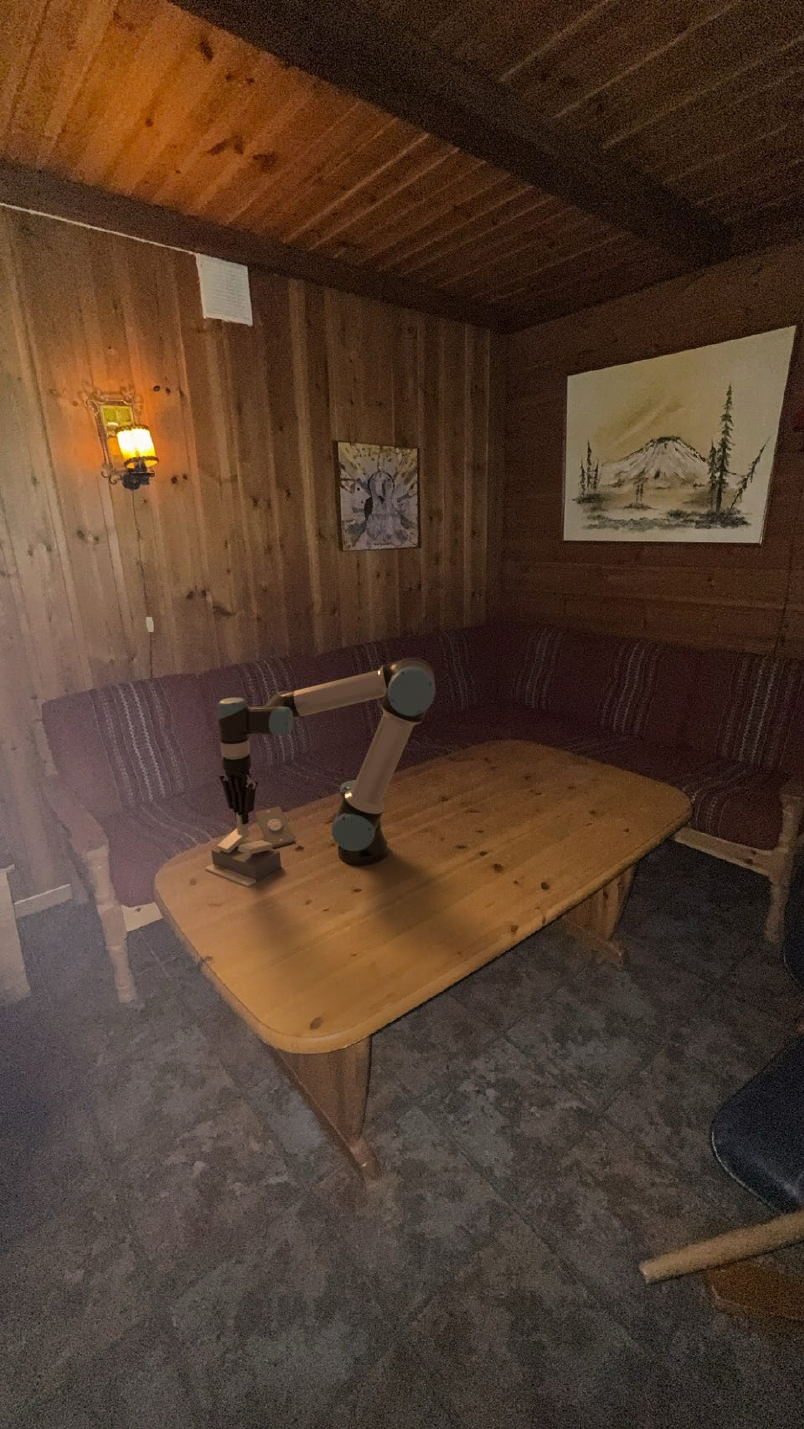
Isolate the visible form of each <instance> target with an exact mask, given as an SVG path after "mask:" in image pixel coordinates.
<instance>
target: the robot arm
mask: <svg viewBox="0 0 804 1429" xmlns="http://www.w3.org/2000/svg"><path fill="white" fill-rule="evenodd" d="M435 678H436V676H435V673H434V670H433V668H432V666H431V665H430V664H429V663H428V662H426V661H425V660H424V659H421V658H419V657H407V658H403V659H401V660H398V661H394V662H390V663H387V664H383V665H381V667H380V668H379V669H377V670H373V671H368V672H366V673H362V674H357V675H353V676H349V677H346V678H342V679H337V680H333V681H329V682H326V683H321V684H317V685H313V686H309V687H304V688H301V689H298V690H297V689H296V690H293V691H279V692H277V693H275V694H274V695H272V696H271V697H270V699H269V701H267V703H266V704H265V705H264V706H248V704H247V702H246V699H244V698H243V697H227V698H223V699H221V700H220V701H218V703H217V722H218V732H219V742H220V755H221V756H222V757H221V762H222V769H223V771H224V773H223V774H221V775H219V776H218V777H219V780H220V782H221V784H222V787H223V791H224V795H225V799H226V803H227V807H228V809H229V810H232V811H233V813H234V818H235V822H236V829H237V831H238V835H240V836H242V835H244V834H246V833H248V832H250V830H249V822H250V821H249V820H250V819H249V813H251V812H253V811H254V809H255V802H256V801H255V800H256V791H257V787H258V785H259V783H258V781H254V780H253V779H252V775H251V773H250V769H251V767H252V759H251V758H252V756H251V754H250V751H251V748H250V738H249V737H250V735H254V736H255V735H256V736H257V735H259V736H260V735H261V736H263V735H264V736H283V735H290V734H291V733H292V731H293V727H294V719H295V718H300V717H303V716H308V715H312V714H316V713H320V712H321V713H322V712H324V711H325V712H326V711H329V710H334V709H338V708H342V707H346V706H350V705H354V704H358V703H362V702H366V701H367V702H368V701H370V700H371V701H372V700H376V699H380V698H382V701H381V703H380V708H381V710H382V712H383V713H382V716H381V718H380V720H379V723H378V726H377V728H376V731H375V733H374V736H373V738H372V741H371V743H370V746H369V748H368V751H367V753H366V755H365V758H364V759H363V763H362V765H361V767H360V770H359V773H358V775H357V777H356V779H354V780H353V779H352V780H347V781H346V782H343V783H342V784H341V785H340V787H339V788H340V790H339V794H340V802H339V806H338V809H337V812H336V814H335V817H334V820H333V821H332V825H331V835H332V838H333V840H334V842H335V843H336V844H337V845H338V846H337V855H338V858H339V860H341V861H342V862H344V863H346V864H350V865H355V866H363V865H364V866H366V865H372V864H375V863H377V862H381V861H382V860H384V859H385V858H386V856H387V854H388V852H389V851H388V850H389V849H388V843H387V842H388V841H387V840H386V839H385V835H384V833H383V830H382V822H381V821H382V820H381V818H382V816H383V814H384V811H385V806H384V803H383V799H384V797H385V794H386V791H387V789H388V787H389V784H390V783H391V780H392V778H393V775H394V773H395V770H396V768H397V766H398V764H399V761H400V758H401V757H402V754H403V751H404V749H405V747H406V745H407V742H408V740H409V737H410V735H411V733H412V731H413V729H414V726H415V725H419V724H421V723H422V722H423V720H424V717H425V715H426V713H427V710H428V709H429V708H430V707H431V705H432V703H433V702H434V698H435V695H436V683H435V680H436V679H435Z"/></svg>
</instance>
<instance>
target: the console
mask: <svg viewBox="0 0 804 1429" xmlns="http://www.w3.org/2000/svg"><path fill="white" fill-rule="evenodd" d="M251 842H252V841H251V840H248V839H247V838H246V839H244V840H243V841H242V842H241V843H240V844H239V845H242V844H247V843H251ZM239 845H238V846H237V847H236V848H234V849H233V850H232V851H231V852H230V853H227V852H224V851H221V850H219V849H218V847H217V846H216V847H214V848H213V849H211V850H210V851H211V860H212V863H211V864H209V865H208V866H206V867H204V870H205V871H206V872H209V873H211V874H215V875H217V876H220V877H222V878H224V879H227V880H230V881H232V882H234V883H238V884H239V885H242V886H245V887H247V888H250V887H251V886H252V885H254V884H256V883H257V882H259V881H260V880H262V879H263V878H265V877H267V876H268V875H270V874H272V873H273V872H274V871H276V870H278V869H279V868H281V867H282V862H281V851H280V850H277V849H276V848H272V849H270V850H266V851H262V852H258V853H254V854H250V855H248V854H246V853H243V852H240V851H238V847H239Z"/></svg>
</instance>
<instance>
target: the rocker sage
mask: <svg viewBox="0 0 804 1429" xmlns="http://www.w3.org/2000/svg"><path fill="white" fill-rule="evenodd" d="M270 849H273V848H272V844H271V843H268V842H266V841H265V840H263V839H262V840H256V841H251V843H247V844H242V845H239V847H238V851H240V852H243V853H246V854H248V855H250V854H254V853H258V852H262V851H266V850H270Z"/></svg>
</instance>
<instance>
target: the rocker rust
mask: <svg viewBox="0 0 804 1429" xmlns="http://www.w3.org/2000/svg"><path fill="white" fill-rule="evenodd" d="M250 835H251V832H250V831H249V832H248V833H246V834H244V835H242V836H240V835H238V831H237V828H235V829H234V830H233V831H232V832H231V833H229V834H228V835H227V836H226V837H225V838H224V839H223V840H221V842H219V843H218V844H217V845H216V847H218V849H219V850H221V851H224V852H227V853H230V852H231V851H232V850H233V849H234V848H236V847H237V846H238V845H239V844H240V843H241V842H242V841H243V840H244V839H246V840H247V838H248V837H249V836H250Z"/></svg>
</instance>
